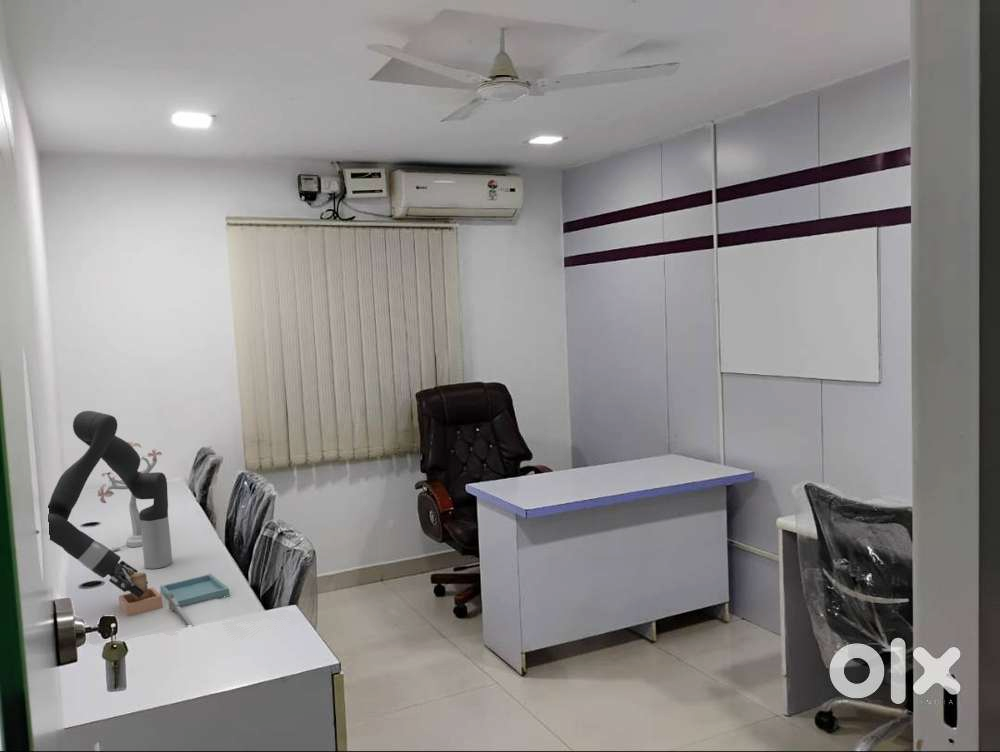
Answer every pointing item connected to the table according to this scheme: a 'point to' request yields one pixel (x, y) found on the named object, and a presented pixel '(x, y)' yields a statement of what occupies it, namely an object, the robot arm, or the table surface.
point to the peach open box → (140, 603)
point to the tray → (195, 590)
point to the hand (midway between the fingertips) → (144, 590)
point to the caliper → (177, 609)
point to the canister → (140, 585)
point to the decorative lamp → (134, 513)
